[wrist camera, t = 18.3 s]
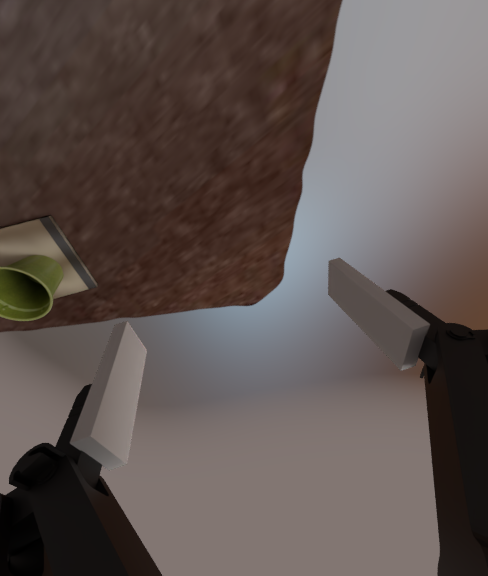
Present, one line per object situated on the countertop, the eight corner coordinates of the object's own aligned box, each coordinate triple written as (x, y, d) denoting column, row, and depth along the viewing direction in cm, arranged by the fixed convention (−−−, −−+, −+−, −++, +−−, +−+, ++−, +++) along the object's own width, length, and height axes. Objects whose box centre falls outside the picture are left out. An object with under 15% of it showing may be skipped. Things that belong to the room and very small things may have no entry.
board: (-25, 234, 37) (-29, 236, 36) (51, 215, 38) (48, 216, 37) (36, 302, 45) (33, 304, 44) (98, 284, 46) (96, 286, 45)
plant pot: (-2, 270, 40) (-43, 298, 33) (29, 233, 38) (-7, 254, 31) (55, 300, 45) (31, 330, 38) (85, 269, 43) (65, 294, 36)
